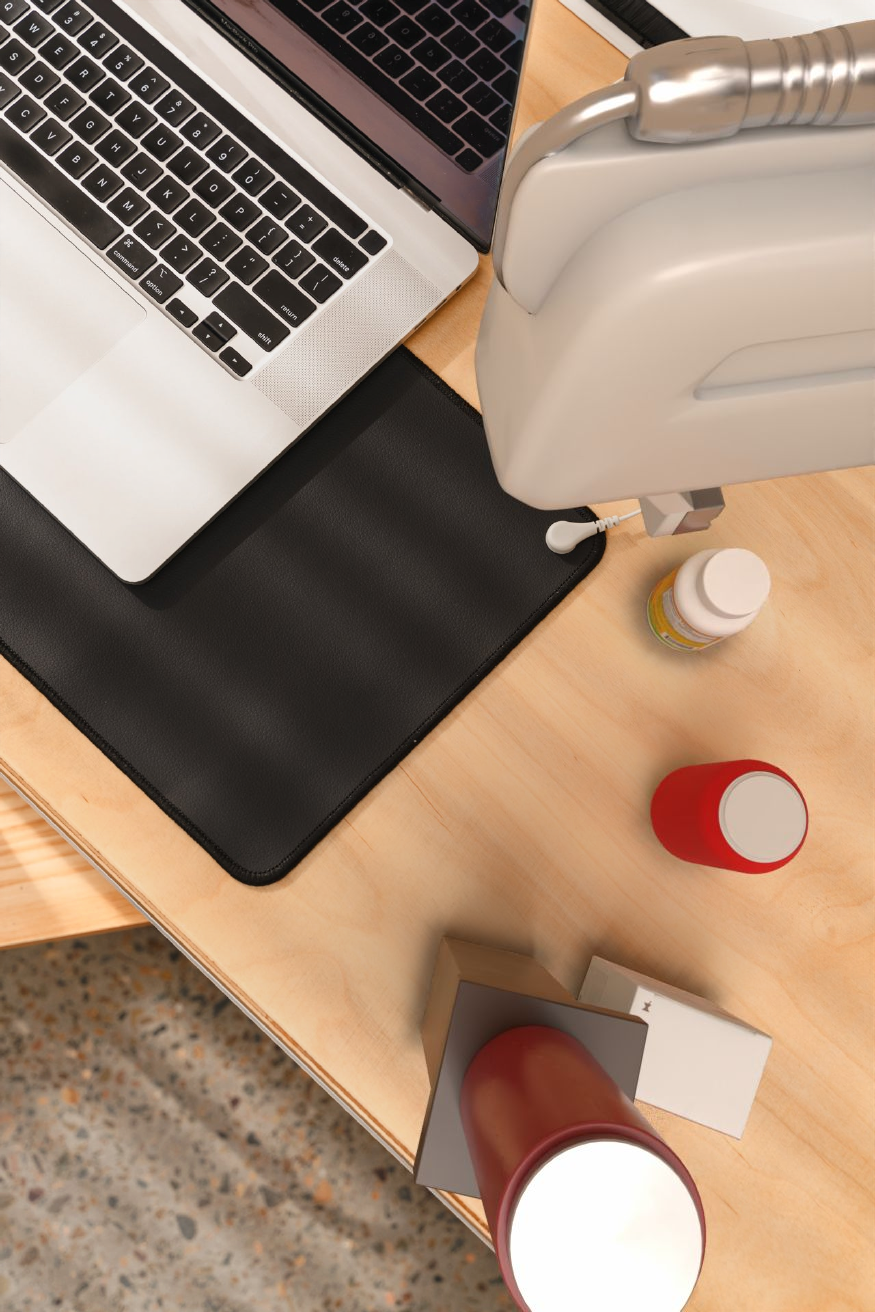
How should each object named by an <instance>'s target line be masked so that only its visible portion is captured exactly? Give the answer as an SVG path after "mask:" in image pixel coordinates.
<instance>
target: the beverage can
mask: <svg viewBox="0 0 875 1312" xmlns="http://www.w3.org/2000/svg"><path fill="white" fill-rule="evenodd" d="M649 811H650V813H649V814H650V821H651V822H650V823H651V827H652V830H653V832H654V835H655V837H656V838H657V840H658V842H659V843H660V845H662V846H663V848H664V849H665V850H666V851H667V852H668V853H670V854H671V855H672V856H673V857H675V858H677V859H679V860H681V861H684V862H685V863H690V864H695V865H700V866H705V867H710V868H715V869H721V870H725V871H730V872H736V873H742V874H746V875H763V874H768V873H771V872H774V871H777V870H779V869H781V868H783V867H784V866H786V865H787V864H788V863H790V862H791V861H792V860H793V859H794V858H795V857H796V856H797V855H798V853H799V852H800V851H801V849H802V847H803V845H804V843H805V842H806V838H807V836H808V830H809V819H810V818H809V810H808V805H807V802H806V799H805V795H804V794H803V792H802V791H801V789H800V787H799V786H798V784H797V783H796V782H795V780H794V779H793V778H792V777H791V776H790V775H789V774H788V773H786V771H784V770H782V769H781V768H779V767H778V766H776V765H774V764H772V763H769V762H766V761H763V760H759V759H750V758H747V759H746V758H745V759H736V760H728V761H726V760H725V761H718V762H710V763H699V764H693V765H685V766H682V767H679V768H677V769H675V770H673V771H671V772H670V773H668V774H667V775H666V776H665V777H664V778H663V779H661V781H660V782H659V784H658V785H657V787H656V789H655V790H654V792H653V795H652V798H651V802H650V810H649Z"/></svg>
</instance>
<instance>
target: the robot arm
mask: <svg viewBox="0 0 875 1312" xmlns="http://www.w3.org/2000/svg"><path fill="white" fill-rule="evenodd" d="M499 190H500V191H499V198H498V204H497V212H496V218H495V219H496V220H495V225H494V234H493V240H492V248H491V259H492V268H493V271H494V274H493V277H492V279H491V283H490V286H489V289H488V294H487V296H486V300H485V303H484V308H483V311H482V315H481V318H480V323H479V328H478V332H477V335H476V336H477V337H476V342H475V346H474V362H473V363H474V373H475V381H476V389H477V395H478V400H479V405H480V412H481V417H482V423H483V429H484V432H485V436H486V441H487V445H488V450H489V452H490V458H491V462H492V467H493V470H494V472H495V473H494V474H495V476H496V479H497V482H498V484H499V485H500V487H501V489H502V490H503V491H504V492H505V493H507V494H508V495H509V496H510V497H513V498H514V499H516V500H517V501H520V502H522V503H524V504H526V505H527V506H529V507H532V508H534V509H537V510H540V511H541V510H542V511H558V510H566V509H567V510H568V509H574V508H580V507H587V506H592V505H598V504H599V505H600V504H606V503H613V502H614V503H615V502H621V501H628V500H635V499H638V504H639V506H640V512H641V515H642V519H643V523H644V528H645V532H646V533H647V535H648V536H649V537H650V538H651V539H656V538H662V537H668V536H669V537H670V536H679V535H684V534H690V533H697V532H702V531H703V532H704V531H708V530H709V529H710V527H712V522H711V521H714V520H715V519H717V518H718V517H719V516H720V514H721V513H722V512H723V510H725V508H726V506H727V505H726V501H725V498H724V494H723V491H722V488H721V487H727V486H728V487H729V486H735V485H741V484H749V483H756V482H762V481H769V480H776V479H785V478H791V477H800V476H805V475H812V474H813V475H814V474H821V473H827V472H834V471H841V470H850V469H855V468H862V467H863V468H864V467H869V466H875V19H867V20H861V21H855V22H850V23H845V24H840V25H839V24H838V25H836V26H831V27H827V28H823V29H819V30H815V31H813V32H810V33H809V32H808V33H804V34H802V33H801V34H798V35H797V34H796V35H793V36H785V37H778V38H777V37H776V38H772V39H771V38H762V39H753V40H745V41H744V40H743V39H742V37H740V36H737V35H726V34H725V35H724V34H723V35H718V34H717V35H703V36H702V35H701V36H693V37H687V38H681V39H676V40H671V41H667V42H664V43H661V44H658V45H656V46H653V47H650V48H647V49H644V50H641V51H638V52H637V53H635V54H634V55H633V56H632V57H630V59H629V62H628V63H627V65H626V69H625V72H624V76H623V81H621V82H617V83H614V84H610V85H608V86H604V87H602V88H599V89H596V90H594V91H591V92H589V93H587V94H585V95H583V96H582V97H580V98H578V99H575V100H574V101H573V102H571V103H570V104H567V105H566V106H563V107H562V108H561V109H559V110H558V111H557V112H556V113H554V114H553V115H552V116H551V117H550V118H548V119H547V120H540V121H538V122H536V123H533V124H532V125H530V126H528V127H527V128H526V129H525V130H523V131H522V133H521V134H520V135H519V137H518V138H517V140H516V141H515V142H514V145H513V147H512V148H511V150H510V152H509V155H508V157H507V160H506V163H505V166H504V170H503V176H502V183H501V186H500V189H499Z"/></svg>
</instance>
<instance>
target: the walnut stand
mask: <svg viewBox="0 0 875 1312" xmlns="http://www.w3.org/2000/svg"><path fill="white" fill-rule="evenodd" d="M439 945H440V946H439V949H438V954H437V957H436V963H435V967H434V971H433V976H432V980H431V983H430V989H429V993H428V997H427V1001H426V1004H425V1005H426V1006H425V1010H424V1014H423V1019H422V1023H421V1028H420V1038H421V1043H422V1048H423V1054H424V1059H425V1065H426V1070H427V1075H428V1080H429V1086H430V1092H429V1095H428V1099H427V1104H426V1109H425V1112H424V1118H423V1122H422V1126H421V1131H420V1135H419V1138H418V1139H419V1140H418V1144H417V1149H416V1153H415V1157H414V1161H413V1166H412V1176H413V1177H412V1178H413V1184H414V1185H417V1186H419V1187H420V1186H421V1187H424V1188H428V1189H434V1190H438V1191H443V1192H447V1193H451V1194H455V1195H459V1196H464V1197H468V1198H472V1199H476V1200H481V1196H480V1192H479V1189H478V1185H477V1181H476V1177H475V1173H474V1169H473V1166H472V1162H471V1158H470V1154H469V1150H468V1146H467V1143H466V1139H465V1135H464V1131H463V1127H462V1123H461V1118H460V1093H461V1086H462V1083H463V1079H464V1076H465V1074H466V1072H467V1069H468V1067H469V1065H470V1064H471V1062H472V1060H473V1058H474V1057H475V1056H476V1055H477V1053H478V1052H479V1051H480V1050H481V1049H482V1048H483V1047H484V1046H485V1045H486V1044H487V1043H488V1042H489V1041H491V1040H492V1039H493V1038H494V1037H496V1036H498V1035H500V1034H501V1033H503V1032H506V1031H508V1030H511V1029H514V1028H518V1027H521V1026H530V1025H534V1026H546V1027H551V1028H554V1029H558V1030H560V1031H562V1032H565V1033H567V1034H569V1035H570V1036H572V1037H573V1038H575V1039H576V1040H578V1041H579V1042H580V1043H581V1044H582V1045H584V1046H585V1048H586V1049H587V1050H588V1051H589V1052H590V1053H591V1054H592V1055H593V1057H594V1058H595V1059H596V1060H597V1061H598V1062H599V1064H600V1065H601V1066H602V1067H603V1068H604V1070H605V1071H606V1072H607V1073H608V1074H609V1076H610V1077H611V1078H612V1079H613V1080H614V1081H615V1083H616V1084H617V1085H618V1086H619V1087H620V1089H621V1090H622V1091H623V1092H624V1093H625V1094H626V1096H627V1097H628V1098H629V1099H630V1100H631V1102H632V1103H633V1104H634V1105H635V1101H636V1100H635V1095H636V1089H637V1084H638V1079H639V1074H640V1069H641V1064H642V1058H643V1053H644V1048H645V1043H646V1038H647V1033H648V1027H649V1024H648V1023H646V1022H645V1021H644V1020H643V1019H642V1018H640V1017H639V1016H636V1015H632V1014H628V1013H623V1012H619V1011H615V1010H611V1009H606V1008H602V1007H598V1006H594V1005H590V1004H585V1003H581V1002H578V1001H577V1000H578V999H576V998H575V997H574V996H573V994H571V993H570V992H569V991H568V990H567V989H566V988H565V987H564V985H562V984H561V983H560V981H558V980H557V979H556V978H555V977H554V976H553V974H551V973H550V972H549V971H548V970H547V969H546V968H545V967H544V966H543V965H542V964H541V963H540V961H538V960H537V959H536V958H535V957H534V956H529V955H525V954H520V953H517V952H512V951H508V950H504V949H500V948H496V947H492V946H487V945H483V944H479V943H475V942H470V941H468V940H467V941H466V940H462V939H459V938H454V937H451V936H450V937H449V936H445V935H443V936H441V940H440V944H439ZM481 1201H482V1200H481Z"/></svg>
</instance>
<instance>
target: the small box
mask: <svg viewBox="0 0 875 1312" xmlns="http://www.w3.org/2000/svg"><path fill="white" fill-rule="evenodd" d="M576 1000H577V1001H578V1002H581V1003H585V1004H590V1005H594V1006H598V1007H602V1008H606V1009H611V1010H615V1011H619V1012H623V1013H628V1014H632V1015H636V1016H639V1017H640V1018H642V1019H643V1020H644V1021H645V1022H646V1023H648V1024H649V1027H648V1033H647V1038H646V1043H645V1048H644V1053H643V1058H642V1064H641V1069H640V1074H639V1079H638V1084H637V1089H636V1095H635V1100H634V1101H637V1102H640V1103H642V1104H645V1105H648V1106H650V1107H653V1108H655V1109H658V1110H661V1111H663V1112H666V1113H668V1114H671V1115H673V1116H676V1117H678V1118H681V1119H684V1120H686V1121H689V1122H691V1123H694V1124H697V1125H699V1126H702V1127H704V1128H707V1129H710V1130H712V1131H715V1132H717V1133H720V1134H723V1135H725V1136H728V1137H730V1138H733V1139H735V1140H737V1141H741V1140H742V1139H743V1136H744V1132H745V1129H746V1126H747V1124H748V1120H749V1118H750V1115H751V1111H752V1108H753V1106H754V1102H755V1100H756V1096H757V1093H758V1090H759V1087H760V1084H761V1080H762V1078H763V1074H764V1071H765V1068H766V1066H767V1062H768V1059H769V1056H770V1053H771V1050H772V1047H773V1044H774V1038H773V1037H772V1036H771V1035H770V1034H768V1033H766V1032H764V1031H763V1030H760V1029H759V1028H758V1027H755V1026H754V1025H752V1024H750V1023H748V1022H746V1021H745V1020H744V1019H742V1018H740V1017H738V1016H736V1015H734V1014H733V1013H731V1012H729V1011H728V1010H726V1009H724V1008H723V1007H721V1006H719V1005H717V1004H716V1003H714V1002H712V1001H711V1000H709V999H707V998H704V997H702V996H699V995H696V994H694V993H692V992H689V991H686V990H685V989H681V988H679V987H676V986H673V985H671V984H668V983H666V982H664V981H661V980H659V979H655V978H653V977H651V976H647V975H645V974H643V973H640V972H637V971H635V970H634V969H633V970H632V969H630V968H627V967H625V966H622V965H620V964H617V963H614V962H613V961H609V960H607V959H604V958H602V957H600V956H597V955H592V957H591V960H590V964H589V966H588V969H587V972H586V975H585V977H584V980H583V983H582V986H581V989H580V991H579V994H578V997H577V999H576Z"/></svg>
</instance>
